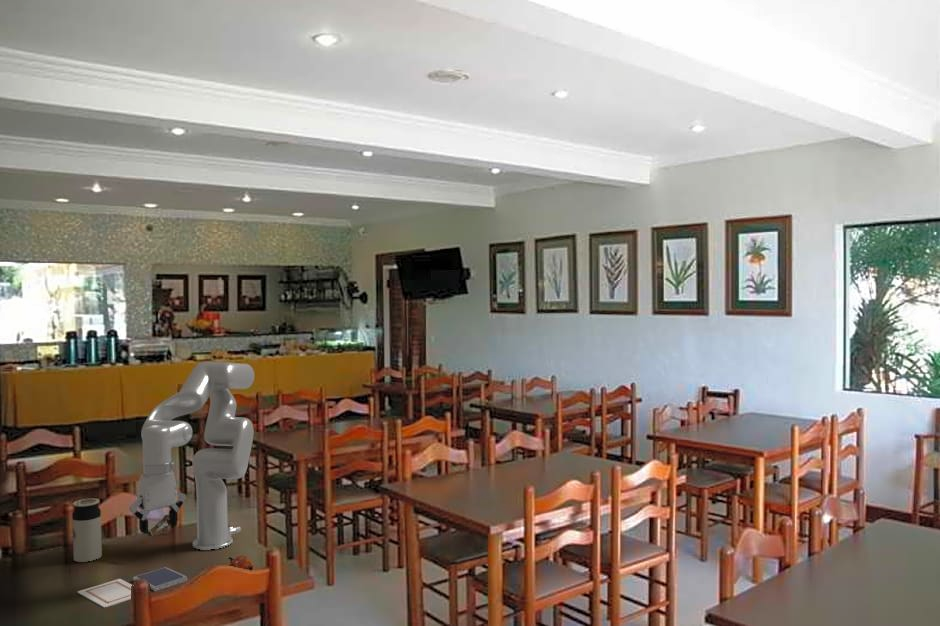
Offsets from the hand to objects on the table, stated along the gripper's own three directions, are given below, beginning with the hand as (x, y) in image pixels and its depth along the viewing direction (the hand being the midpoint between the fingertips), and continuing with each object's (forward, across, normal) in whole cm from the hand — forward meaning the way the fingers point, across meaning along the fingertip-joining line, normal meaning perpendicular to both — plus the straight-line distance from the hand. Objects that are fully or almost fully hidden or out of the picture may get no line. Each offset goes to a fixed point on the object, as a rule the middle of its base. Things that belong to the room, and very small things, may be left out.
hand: (158, 528), depth 227 cm
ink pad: (+15, 0, 0) cm, 15 cm away
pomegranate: (+16, -15, +18) cm, 28 cm away
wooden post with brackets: (+1, 0, 0) cm, 1 cm away
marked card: (+15, +13, -2) cm, 20 cm away
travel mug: (+16, +5, -35) cm, 39 cm away
